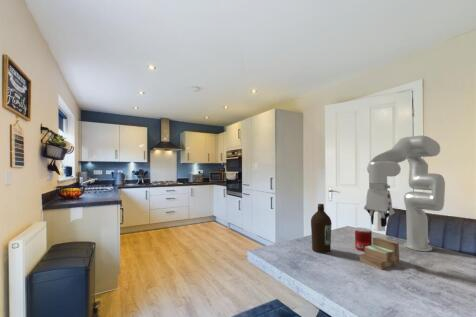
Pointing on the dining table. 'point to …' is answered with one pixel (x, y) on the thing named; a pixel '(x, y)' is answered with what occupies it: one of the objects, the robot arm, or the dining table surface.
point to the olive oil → (321, 231)
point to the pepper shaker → (377, 221)
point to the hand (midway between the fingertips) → (378, 224)
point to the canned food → (363, 238)
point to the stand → (381, 253)
